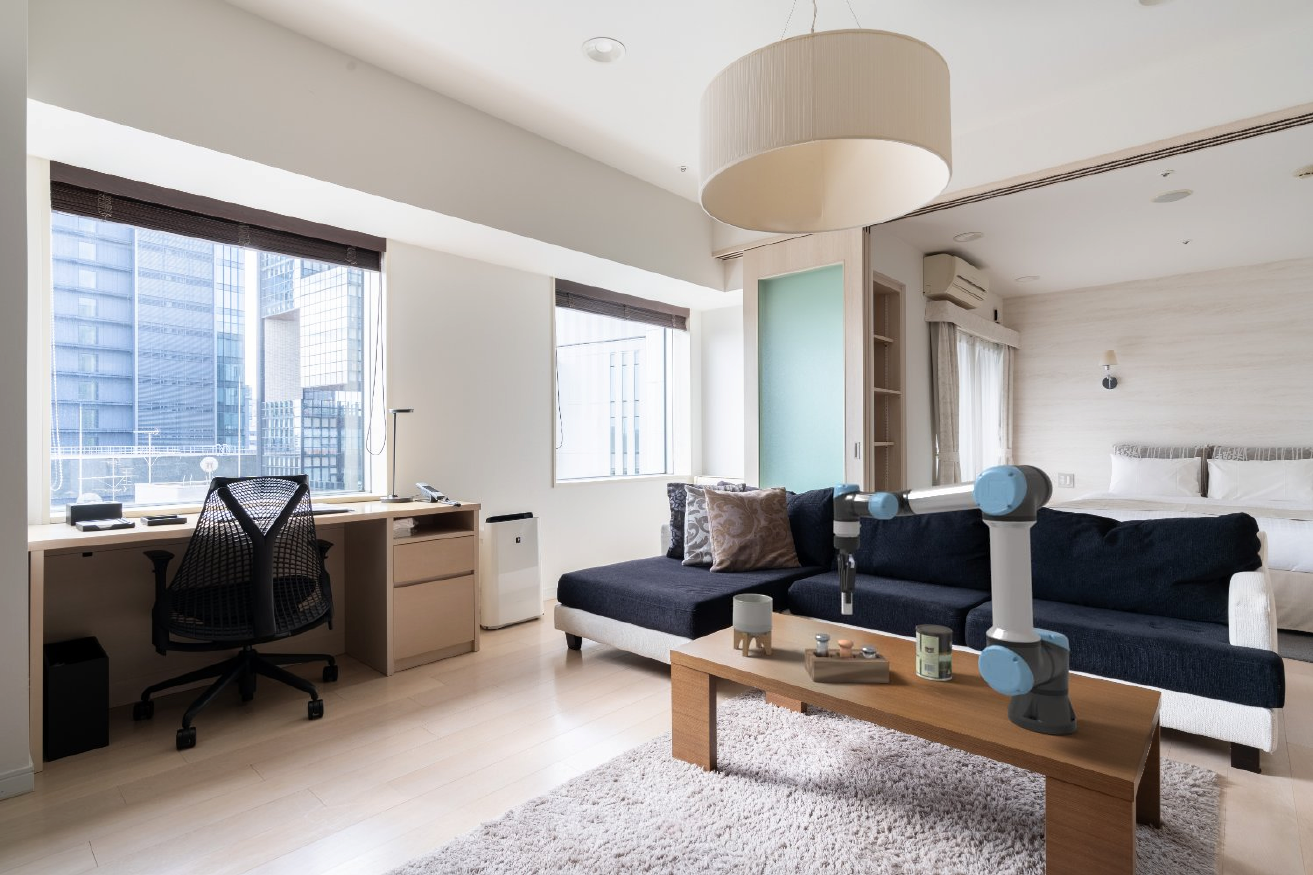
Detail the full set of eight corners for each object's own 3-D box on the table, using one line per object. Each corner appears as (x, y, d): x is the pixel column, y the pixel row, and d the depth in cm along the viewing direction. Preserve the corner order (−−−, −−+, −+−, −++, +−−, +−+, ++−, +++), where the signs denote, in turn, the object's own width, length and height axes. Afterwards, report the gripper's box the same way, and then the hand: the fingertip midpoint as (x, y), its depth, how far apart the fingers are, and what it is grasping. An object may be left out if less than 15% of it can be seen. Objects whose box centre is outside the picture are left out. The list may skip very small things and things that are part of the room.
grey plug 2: (878, 674, 199) (878, 650, 200) (863, 674, 199) (864, 649, 200) (873, 669, 204) (874, 645, 204) (859, 669, 204) (859, 645, 204)
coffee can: (948, 671, 206) (948, 625, 207) (955, 682, 196) (956, 634, 196) (912, 668, 208) (913, 622, 209) (918, 679, 198) (919, 632, 198)
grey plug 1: (831, 662, 200) (831, 637, 200) (816, 662, 200) (817, 637, 200) (827, 657, 204) (828, 633, 204) (813, 657, 204) (813, 633, 204)
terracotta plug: (855, 668, 199) (855, 643, 200) (840, 668, 199) (840, 643, 200) (850, 663, 204) (851, 639, 204) (836, 663, 204) (836, 639, 204)
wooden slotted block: (889, 682, 196) (889, 661, 196) (813, 681, 196) (813, 661, 196) (875, 668, 208) (875, 649, 208) (804, 667, 208) (804, 648, 208)
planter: (742, 643, 233) (742, 592, 233) (777, 649, 226) (778, 596, 226) (726, 653, 221) (726, 599, 222) (763, 660, 215) (763, 604, 215)
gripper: (865, 537, 196) (866, 619, 195) (852, 532, 209) (853, 608, 208) (840, 537, 196) (840, 619, 195) (828, 532, 209) (828, 608, 208)
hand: (847, 613), depth 202 cm, fingers closed
